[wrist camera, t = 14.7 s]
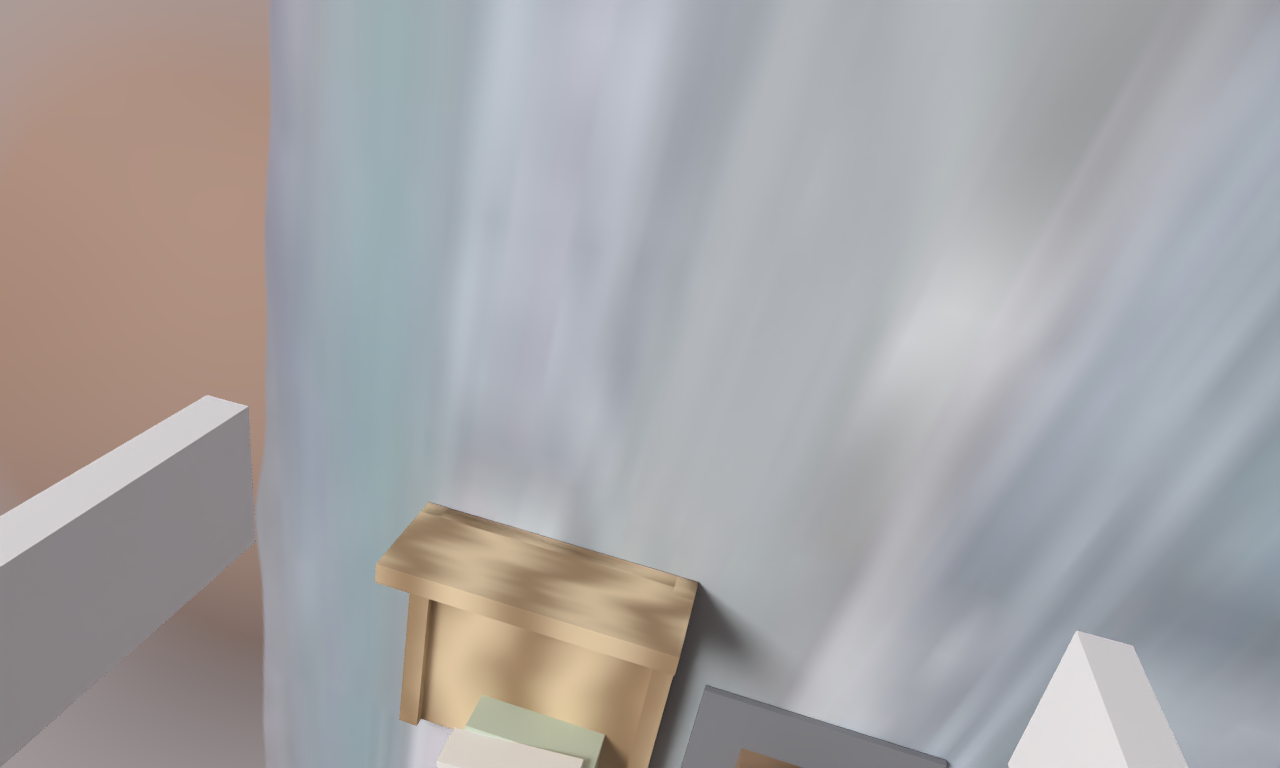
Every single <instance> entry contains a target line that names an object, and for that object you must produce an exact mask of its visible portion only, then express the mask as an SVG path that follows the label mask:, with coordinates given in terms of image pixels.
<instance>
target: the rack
mask: <svg viewBox="0 0 1280 768" xmlns="http://www.w3.org/2000/svg"><path fill="white" fill-rule="evenodd" d="M375 582H376V583H379V584H382V585H386V586H389V587H392V588H395V589H398V590H402V591H405V592H408V593H410V596H409V608H408V621H407V633H406V645H405V658H404V670H403V682H402V694H401V707H400V719H399V720H401V721H404V722H407V723H410V724H413V725H416V726H417V724H418V723H419V721H420V719H424V720H427V721H430V722H433V723H436V724H439V725H442V726H445V727H448V728H451V729H454V727H456V728H460V729H464V730H465V727H466V724H467V722H468V720H469V718H470V716H471V715H472V713H473V711H474V709H475V707H476V705H477V703H478V701H479V699H480V698H481V696H482V695H484V696H488V697H491V698H494V699H497V700H500V701H503V702H506V703H509V704H512V705H515V706H518V707H521V708H525V709H528V710H531V711H534V712H537V713H540V714H543V715H546V716H549V717H552V718H555V719H558V720H562V721H565V722H568V723H571V724H574V725H577V726H580V727H583V728H586V729H589V730H592V731H595V732H598V733H602V734H605V737H604V741H603V745H602V750H601V754H600V758H599V762H598V766H597V768H648V765H649V761H650V757H651V754H652V750H653V747H654V743H655V739H656V736H657V732H658V729H659V725H660V721H661V718H662V714H663V711H664V707H665V703H666V700H667V696H668V693H669V689H670V685H671V682H672V678H673V675H674V676H675V673H676V669H677V665H678V662H679V658H680V654H681V650H682V646H683V642H684V638H685V635H686V631H687V627H688V623H689V619H690V615H691V611H692V607H693V603H694V599H695V595H696V591H697V587H698V583H699V582H696V581H692V580H689V579H686V578H682V577H679V576H675V575H672V574H669V573H665V572H662V571H659V570H655V569H652V568H649V567H645V566H642V565H638V564H635V563H632V562H628V561H625V560H622V559H618V558H615V557H612V556H608V555H605V554H601V553H598V552H595V551H591V550H588V549H585V548H581V547H578V546H575V545H571V544H568V543H564V542H561V541H558V540H554V539H551V538H548V537H544V536H541V535H538V534H534V533H531V532H527V531H524V530H521V529H517V528H514V527H511V526H507V525H504V524H501V523H497V522H494V521H490V520H487V519H484V518H480V517H477V516H474V515H470V514H467V513H464V512H460V511H457V510H453V509H450V508H447V507H443V506H440V505H437V504H433V503H430V502H428V504H427V505H426V506H425V507H424V508H423V509H422V511H421V512H420V513H419V514H418V515H417V517H416V518H415V519H414V520H413V521H412V522H411V524H410V525H409V526H408V527H407V528H406V529H405V531H404V532H403V533H402V534H401V535H400V536H399V538H398V539H397V540H396V541H395V542H394V543H393V545H392V546H391V547H390V548H389V549H388V550H387V552H386V553H385V554H384V555H383V556H382V558H381V559H380V560H379V561H378V562H377V563H376V574H375Z"/></svg>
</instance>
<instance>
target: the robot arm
mask: <svg viewBox="0 0 1280 768" xmlns="http://www.w3.org/2000/svg"><path fill="white" fill-rule="evenodd" d="M255 542H256V540H255V521H254V502H253V483H252V464H251V445H250V426H249V407H248V406H245V405H241V404H237V403H234V402H230V401H226V400H223V399H219V398H215V397H212V396H208V395H206V396H205V397H203V398H201V399H200V400H198V401H196V402H194V403H193V404H191V405H189V406H188V407H186V408H184V409H183V410H181V411H179V412H177V413H176V414H174V415H172V416H171V417H169V418H167V419H165V420H164V421H162V422H160V423H159V424H157V425H155V426H154V427H152V428H150V429H148V430H147V431H145V432H143V433H142V434H140V435H138V436H136V437H135V438H133V439H131V440H130V441H128V442H126V443H125V444H123V445H121V446H119V447H118V448H116V449H115V450H113V451H111V452H109V453H108V454H106V455H104V456H102V457H101V458H99V459H97V460H95V461H94V462H92V463H90V464H89V465H87V466H85V467H84V468H82V469H80V470H78V471H77V472H75V473H73V474H72V475H70V476H68V477H67V478H65V479H63V480H61V481H60V482H58V483H56V484H55V485H53V486H51V487H50V488H48V489H46V490H44V491H43V492H41V493H39V494H38V495H36V496H34V497H32V498H31V499H29V500H27V501H26V502H24V503H22V504H20V505H19V506H17V507H15V508H14V509H12V510H10V511H9V512H7V513H5V514H3V515H2V516H0V767H1V766H2V765H3V764H5V763H6V762H7V761H8V760H9V759H10V758H11V757H13V756H14V755H15V754H16V753H17V752H18V751H19V750H21V748H23V747H24V746H25V745H26V744H27V743H28V742H29V741H31V740H32V739H33V738H34V737H35V736H36V735H37V734H39V733H40V732H41V731H42V730H43V729H44V728H45V727H47V726H48V725H49V724H50V723H51V722H52V721H53V720H54V719H56V718H57V717H58V716H59V715H60V714H61V713H62V712H63V711H65V710H66V709H67V708H68V707H69V706H70V705H71V704H73V702H75V701H76V700H77V699H78V698H79V697H80V696H82V695H83V694H84V693H85V692H86V691H87V690H88V689H89V688H91V687H92V686H93V685H94V684H95V683H96V682H97V681H99V679H101V678H102V677H103V676H104V675H105V674H106V673H108V672H109V671H110V670H111V669H112V668H113V667H114V666H116V665H117V664H118V663H119V662H120V661H121V660H122V659H124V658H125V657H126V656H127V655H128V654H129V653H130V652H131V651H132V650H134V649H135V648H136V647H137V646H138V645H139V644H141V642H143V641H144V640H145V639H146V638H147V637H148V636H150V635H151V634H152V633H153V632H154V631H155V630H156V629H157V628H159V627H160V626H161V625H162V624H163V623H164V622H165V621H166V620H167V619H169V618H170V617H171V616H172V615H173V614H174V613H176V612H177V611H178V610H179V609H180V608H181V607H182V606H183V605H185V604H186V603H187V602H188V601H189V600H190V599H191V598H193V597H194V596H195V595H196V594H197V593H198V592H199V591H201V590H202V589H203V588H204V587H205V586H206V585H207V584H208V583H210V582H211V581H212V580H213V579H214V578H215V577H216V576H217V575H219V573H221V572H222V571H223V570H224V569H225V568H227V567H228V566H229V565H230V564H231V563H232V562H233V561H234V560H236V559H237V558H238V557H239V556H240V555H241V554H242V553H243V552H245V551H246V550H247V549H248V548H249V547H250V546H251V545H252V544H254V543H255ZM1008 766H1009V768H1188V766H1187V763H1186V761H1185V759H1184V757H1183V755H1182V752H1181V750H1180V748H1179V746H1178V744H1177V742H1176V739H1175V737H1174V735H1173V733H1172V731H1171V728H1170V726H1169V724H1168V722H1167V720H1166V717H1165V715H1164V713H1163V711H1162V709H1161V707H1160V704H1159V702H1158V700H1157V698H1156V696H1155V693H1154V691H1153V689H1152V687H1151V685H1150V683H1149V680H1148V678H1147V676H1146V674H1145V672H1144V669H1143V667H1142V665H1141V663H1140V661H1139V659H1138V656H1137V654H1136V652H1135V650H1134V648H1133V646H1132V645H1128V644H1124V643H1121V642H1117V641H1113V640H1110V639H1106V638H1102V637H1099V636H1095V635H1091V634H1088V633H1084V632H1080V631H1076V632H1075V634H1074V636H1073V638H1072V640H1071V642H1070V644H1069V646H1068V648H1067V650H1066V652H1065V654H1064V656H1063V658H1062V660H1061V662H1060V664H1059V666H1058V667H1057V669H1056V671H1055V673H1054V675H1053V677H1052V679H1051V681H1050V683H1049V685H1048V687H1047V689H1046V691H1045V693H1044V695H1043V697H1042V699H1041V701H1040V702H1039V704H1038V706H1037V708H1036V710H1035V712H1034V714H1033V716H1032V718H1031V720H1030V722H1029V724H1028V726H1027V728H1026V730H1025V732H1024V734H1023V736H1022V738H1021V739H1020V741H1019V743H1018V745H1017V747H1016V749H1015V751H1014V753H1013V755H1012V757H1011V759H1010V761H1009V763H1008Z"/></svg>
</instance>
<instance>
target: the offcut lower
mask: <svg viewBox="0 0 1280 768" xmlns="http://www.w3.org/2000/svg"><path fill="white" fill-rule="evenodd" d="M465 730H468V731H472V732H476V733H480V734H484V735H488V736H492V737H496V738H500V739H504V740H508V741H512V742H516V743H520V744H524V745H528V746H532V747H536V748H540V749H544V750H548V751H552V752H556V753H560V754H564V755H568V756H572V757H576V758H580V759H584V762H583V768H597V766H598V762H599V758H600V754H601V750H602V745H603V741H604V737H605V734H602V733H598V732H595V731H592V730H589V729H586V728H583V727H580V726H577V725H574V724H571V723H568V722H565V721H562V720H558V719H555V718H552V717H549V716H546V715H543V714H540V713H537V712H534V711H531V710H528V709H525V708H521V707H518V706H515V705H512V704H509V703H506V702H503V701H500V700H497V699H494V698H491V697H488V696H484V695H482V696H481V698H480V699H479V701H478V703H477V705H476V707H475V709H474V711H473V713H472V715H471V716H470V718H469V720H468V722H467V724H466V727H465Z"/></svg>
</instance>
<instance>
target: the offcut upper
mask: <svg viewBox="0 0 1280 768" xmlns="http://www.w3.org/2000/svg"><path fill="white" fill-rule="evenodd" d="M583 762H584V759H580V758H576V757H572V756H568V755H564V754H560V753H556V752H552V751H548V750H544V749H540V748H536V747H532V746H528V745H524V744H520V743H516V742H512V741H508V740H504V739H500V738H496V737H492V736H488V735H484V734H480V733H476V732H472V731H468V730H464V729H460V728H456V727H454V729H453V731H452V733H451V735H450V737H449V738H448V740H447V742H446V744H445V746H444V748H443V749H442V751H441V753H440V755H439V757H438V759H437V760H436V768H583Z"/></svg>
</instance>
